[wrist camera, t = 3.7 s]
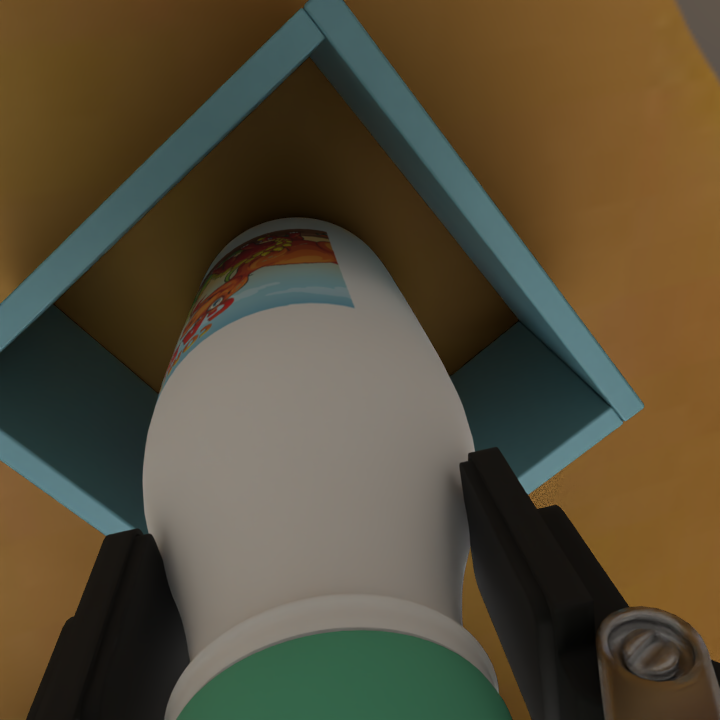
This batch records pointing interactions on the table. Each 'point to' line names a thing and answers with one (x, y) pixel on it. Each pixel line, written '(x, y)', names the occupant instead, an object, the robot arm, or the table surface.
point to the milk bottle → (313, 493)
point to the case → (436, 187)
